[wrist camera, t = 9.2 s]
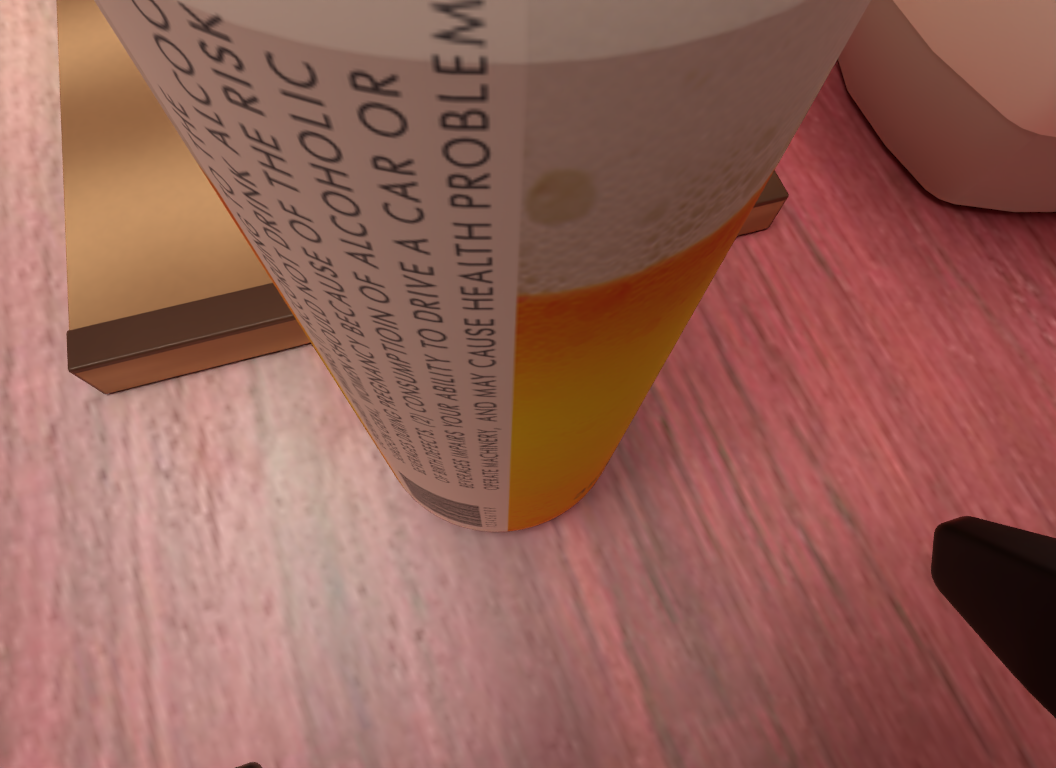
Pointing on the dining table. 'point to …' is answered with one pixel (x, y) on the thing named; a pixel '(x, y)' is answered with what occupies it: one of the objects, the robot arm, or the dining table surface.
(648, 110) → the beer can
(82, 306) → the board
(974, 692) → the dining table surface
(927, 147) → the bowl
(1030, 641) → the robot arm
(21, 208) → the dining table surface
